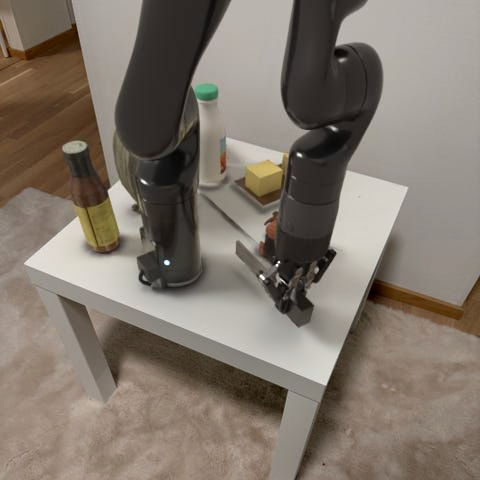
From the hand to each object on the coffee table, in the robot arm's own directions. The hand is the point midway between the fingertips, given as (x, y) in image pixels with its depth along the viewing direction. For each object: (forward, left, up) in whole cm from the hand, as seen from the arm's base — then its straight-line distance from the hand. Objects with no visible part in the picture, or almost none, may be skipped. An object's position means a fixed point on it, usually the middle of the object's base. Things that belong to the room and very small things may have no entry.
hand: (289, 306), depth 71 cm
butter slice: (+27, +32, -2) cm, 42 cm away
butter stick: (+19, +32, -2) cm, 37 cm away
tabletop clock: (-2, +38, -4) cm, 38 cm away
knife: (0, +6, -1) cm, 6 cm away
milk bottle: (+12, +43, -4) cm, 45 cm away
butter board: (+23, +32, -4) cm, 40 cm away
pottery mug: (+11, +14, -4) cm, 18 cm away
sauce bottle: (-17, +35, -4) cm, 39 cm away
